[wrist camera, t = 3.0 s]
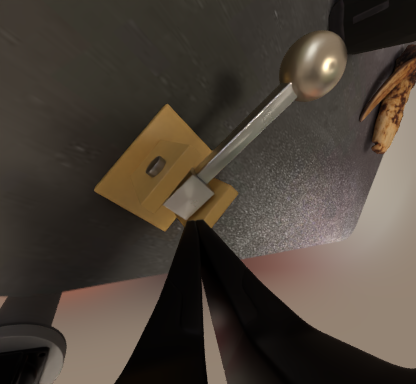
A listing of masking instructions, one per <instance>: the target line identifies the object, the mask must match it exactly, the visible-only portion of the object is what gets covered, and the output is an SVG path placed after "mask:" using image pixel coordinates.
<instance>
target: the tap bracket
mask: <svg viewBox="0 0 416 384" xmlns="http://www.w3.org/2000/svg"><path fill="white" fill-rule="evenodd" d="M211 152H212V151H211V149H210V148H209V147H208V146H207V145H206V144H205V143H204V142H203V141H202V140H201V139H200V138H199V137H198V136H197V135H196V134H195V132H194V131H193V130H192V129H191V128H190V127H189V126H188V125H187V124H186V123H185V122H184V121H183V120H182V119H181V118H180V116H179V115H178V114H177V113H176V112H175V111H174V110H173V109H172V108H171V107H170V106H169V105H168V104H166V105H164V106H163V107H162V109H161V110H160V111H159V112H158V113H157V115H156V116H155V117H154V118H153V119H152V120H151V122H150V123H149V124H148V125H147V126H146V127H145V129H144V130H143V131H142V132H141V133H140V135H139V136H138V137H137V138H136V139H135V140H134V142H133V143H132V144H131V145H130V146H129V148H128V149H127V150H126V151H125V152H124V153H123V155H122V156H121V157H120V158H119V159H118V161H117V162H116V163H115V164H114V165H113V166H112V168H111V169H110V170H109V171H108V172H107V173H106V175H105V176H104V177H103V178H102V179H101V181H100V182H99V183H98V184H97V185H96V186H95V189H94V191H95V192H96V193H98V194H100V195H102V196H103V197H105V198H107V199H109V200H110V201H112V202H114V203H116V204H117V205H119V206H121V207H123V208H124V209H126V210H128V211H130V212H131V213H133V214H135V215H137V216H139V217H140V218H142V219H144V220H146V221H147V222H149V223H151V224H153V225H154V226H156V227H158V228H160V229H161V230H163V231H166V230H167V229H168V227H169V226H170V225H171V224H172V222H173V221H174V220H175V219H176V218H178V219H179V221H180V222H181V223H182V225H183V226H184V227H185V224H186V222H187V221H188V220H195V221H196V220H201V219H203V220H204V221H205V222H206V223H207V224H208V225H209V226H210V227H211V228H212V227H213V225H214V224H215V223H216V222H217V220H218V219H219V218H220V217H221V215H222V214H223V213H224V211H225V210H226V209H227V208H228V206H229V205H230V204H231V203H232V201H233V200H234V199H235V197H236V196H237V195H238V192H237V191H236V190H235V189H234V188H233V187H232V186H231V185H229V184H227V183H225V182H222V181H220V180H218V179H216V178H213V179H212V180H211V181H210V182H209V183H208V184H209V185H210V187H211V189H212V190H213V192H214V195H213V196H212V197H211V198H210V199H209V200H208V201H207V202H205V203H204V204H203V205H202V206H201V207H200V208H199V209H198V210H197V211H196V212H195V213H194V214H193V215H192V216H191V217H189V218H188V219H187V220H185V219H183V218H182V217H180V216H179V215H177V214H176V213H174V212H173V211H171V210H170V209H168V208H167V207H165V206H164V205H163V203H164V202H165V200H166V199H167V198H168V197H169V196H170V194H171V193H172V192H173V191H174V189H175V188H176V187H177V186H178V184H179V183H180V182H181V181H182V180H183V178H184V177H185V176H186V175H187V173H188V172H189V171H190V170H191V168H192V167H193V168H194V169H195V168H196V167H197V166H198V165H199V164H200V163H201V162H202V161H203V160H204V159H205V158H206V157H207V156H208V155H209V154H210V153H211Z"/></svg>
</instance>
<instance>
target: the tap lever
mask: <svg viewBox="0 0 416 384" xmlns="http://www.w3.org/2000/svg"><path fill="white" fill-rule="evenodd" d="M346 63H347V49H346V46H345V43H344V41H343V40H342V39H341V37H340V36H338V35H337V34H335V33H334V32H331V31H327V30H319V31H314V32H311V33H308V34H306V35H304V36H303V37H301V38H300V39H298V40H297V41H296V42H295V43H294V44H293V45H292V46H291V47H290V48H289V50H288V51H287V53H286V54H285V56H284V58H283V60H282V63H281V66H280V71H279V81H280V85H279V86H278V87H277V88H276V89H275V90H274V91H273V92H272V93H271V94H270V95H269V96H268V97H267V98H266V99H265V100H264V101H263V102H262V103H261V104H260V105H259V106H258V107H257V108H256V109H255V110H254V111H252V112H251V113H250V114H249V115H248V116H247V117H246V118H245V119H244V120H243V121H242V122H241V123H240V124H239V125H238V126H237V127H236V128H235V129H234V130H233V131H232V132H231V133H230V134H229V135H228V136H227V137H226V138H225V139H224V140H223V141H222V142H221V143H220V144H219V145H218V146H217V147H216V148H215V149H214V150H213V151H212V152H211V153H210V154H209V155H208V156H207V157H206V158H205V159H204V160H203V161H202V162H201V163H200V164H199V165H198V166H197V167H196V168H195V169H194V168H193V167H192V168H191V170H190V171H189V172H188V173H187V175H186V176H185V177H184V178H183V180H182V181H181V182H180V183H179V184H178V186H177V187H176V188H175V189H174V191H173V192H172V193H171V194H170V196H169V197H168V198H167V199H166V200H165V202H164V203H163V205H164V206H165V207H167V208H168V209H170V210H171V211H173V212H174V213H176V214H177V215H179V216H180V217H182V218H183V219H185V220H187V219H188V218H189V217H191V216H192V215H193V214H194V213H195V212H196V211H197V210H198V209H199V208H200V207H201V206H202V205H203V204H204V203H205V202H207V201H208V200H209V199H210V198H211V197H212V196H213V195H214V192H213V190H212V189H211V187H210V185H209V184H208V183H209V182H210V181H211V180H212V179H213V178H214V177H215V176H216V175H217V174H218V173H219V172H220V171H221V170H222V169H223V168H224V167H225V166H226V165H227V164H229V163H230V162H231V161H232V160H233V159H234V158H235V157H236V156H237V155H238V154H239V153H240V152H241V151H242V150H243V149H244V148H245V147H246V146H247V145H248V144H249V143H250V142H251V141H252V140H253V139H255V138H256V137H257V136H258V135H259V134H260V133H261V132H262V131H263V130H264V129H265V128H266V127H267V126H268V125H269V124H270V123H271V122H272V121H273V120H274V119H275V118H276V117H277V116H278V115H280V114H281V113H282V112H283V111H284V110H285V109H286V108H287V107H288V106H289V105H290V104H291V103H292V102H293V101H294V100H295V101H299V102H308V101H313V100H316V99H318V98H320V97H322V96H324V95H325V94H327V93H328V92H329V91H330V90H332V89H333V88H334V87H335V85H336V84H337V83H338V81H339V80H340V78H341V77H342V75H343V73H344V70H345V67H346Z"/></svg>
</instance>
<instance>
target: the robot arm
mask: <svg viewBox="0 0 416 384" xmlns="http://www.w3.org/2000/svg"><path fill="white" fill-rule="evenodd" d="M201 278H202V282H203V286H204V289H205V294H206V298H207V302H208V306H209V310H210V314H211V319H212V323H213V327H214V331H215V335H216V339H217V343H218V347H219V351H220V355H221V359H222V364H223V368H224V370H225V376H226V380H227V384H416V368H415V369H410V368H403V367H400V366H397V365H393V364H391V363H389V362H386V361H384V360H381V359H379V358H377V357H375V356H373V355H371V354H368V353H366V352H364V351H362V350H360V349H358V348H355V347H353V346H351V345H349V344H347V343H345V342H342V341H340V340H338V339H336V338H334V337H332V336H329V335H327V334H325V333H323V332H321V331H319V330H317V329H315V328H314V327H312V326H311V325H309V324H308V323H306V322H305V321H304V320H302V319H301V318H300V317H299V316H298V315H296V314H295V313H294V312H293V311H292V310H291V309H290V308H289V307H288V306H287V305H285V304H284V303H283V302H282V301H281V300H280V299H279V298H278V297H277V296H275V295H274V294H273V293H272V292H271V291H270V290H269V289H268V288H267V287H266V286H265V285H264V284H263V283H262V282H261V281H260V280H258V278H257V277H256V276H255V275H254V274H253V273H252V272H251V271H250V270H249V269H248V268H247V267H246V266H245V265H244V263H243V262H242V261H241V260H240V259H239V258H238V257H237V256H236V255H235V253H234V252H233V251H232V250H231V249H230V248H229V247H228V246H227V245H226V244H225V243H224V241H223V240H222V239H221V238H220V237H219V236H218V235H217V234H216V233H215V232H214V231H213V229H212V228H211V227H210V226H209V225H208V224H207V223H206V222H205V221H204V220H203V219H201V220H196V221H195V220H188V221H187V222H186V224H185V227H184V230H183V233H182V236H181V239H180V242H179V245H178V247H177V250H176V253H175V256H174V259H173V262H172V265H171V267H170V270H169V273H168V276H167V279H166V281H165V284H164V287H163V290H162V292H161V295H160V297H159V300H158V302H157V304H156V306H155V309H154V311H153V313H152V315H151V317H150V319H149V321H148V323H147V325H146V327H145V329H144V331H143V333H142V335H141V338H140V339H139V341H138V343H137V346H136V347H135V349H134V351H133V353H132V355H131V357H130V359H129V361H128V363H127V364H126V366H125V368H124V370H123V371H122V373H121V375H120V376H119V378H118V379H117V380H116V382H115V383H114V384H208V382H207V372H206V362H205V349H204V329H203V306H202V283H201ZM49 350H50V348H49V347H38V348H30V349H23V350H16V351H8V352H1V353H0V384H39V381H40V378H41V375H42V372H43V369H44V366H45V363H46V360H47V357H48V354H49Z"/></svg>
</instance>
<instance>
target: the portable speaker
mask: <svg viewBox="0 0 416 384" xmlns="http://www.w3.org/2000/svg"><path fill="white" fill-rule="evenodd" d="M329 31H331V32H334V33H335V34H337V35H338V36H340V37H341V39H342V40H343V41H344V43H345V46H346V49H347V54H353V55H354V54H359V53H363V52H368V51H373V50H377V49H382V48H386V47H391V46H396V45H400V44H405V43H410V42H414V41H416V0H339V1H338V2H337V3H336V4H335V6H334V7H333V8H332V11H331V13H330V16H329Z"/></svg>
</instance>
